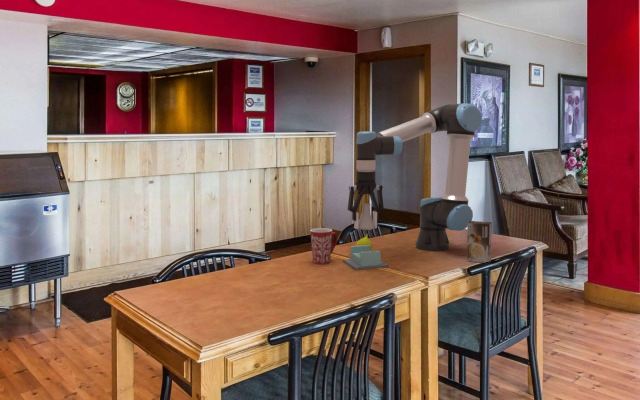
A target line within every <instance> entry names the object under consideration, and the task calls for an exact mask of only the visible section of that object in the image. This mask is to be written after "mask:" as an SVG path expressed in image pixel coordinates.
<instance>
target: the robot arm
mask: <svg viewBox="0 0 640 400" xmlns="http://www.w3.org/2000/svg"><path fill="white" fill-rule="evenodd" d="M482 121H483V117H482V112H481V111H480V109H479V108H478V107H477V106H476V105H475V104H472V103H466V102H464V103H463V102H462V103H453V104H452V103H451V104H444V105H441V106H439V107H435V108H434V109H432V110H430V111H427V112H424V113H423V114H422V116H420V117H418V118H417V117H416V118H414V119H412V120H408V121H406V122H403V123H401V124H398V125H395V126H393V127H390V128H387V129H384V130H381V131H379V132H377V133H376V131H358V132H357V133H356V140H355V141H356V142H355V144H356V172H355V173H356V174H355V175H356V177H355V178H356V180H355V181H356V183H355V185H349V186H348V190H349V193H348V194H349V195H348V200H347V201H348V203H347V211H348V212H351V215H352V216H351V219H352V221H353V223H354V225H353V227H354V229H355V230H359V229H358V222H359V212H358V210H359V206H360V203H361V200H362V198H363V197H364V196H365V195H368V196H369V198H370V201H371V204H372V207H373V211H372V221H373V224H374V227H375V229H377V228H378V220H379V219H380V212H381V211H383V210H384V206H385V205H384V197H383V188H384V186H383V185H381V184H377V183H376V171H375V170H376V166H377V165H376V164H377V163H376V162H377V161H376V157H377V156H395V155H397V156H398V155H400V154H401V153H402V151H403V149H404V148H403V147H404V146H403V144H404V143H405V142H407V141H410V140H412V139H414V138H417V137H420V136H422V135H426V134H434V133H438V132H446V135H447V137H448V138H449V144H448V145H449V147H448V156H447V169H446V179H445V191H444V194H443V195H442V196H441V197H426V198H422V199H421V200H420V203H419V204H420V205H419V232H418V236H417V237H416V241H415V247H416V248H417V249H418V250H423V251H432V252H433V251H438V252H439V251H446V250H449V249H450V240H449V237H448V234H447V229H448V230H451V231H459V232H460V231H463V230H465V229H467V225H468V222H469V221H473V218H474V217H473V216H474V213H473V210H472V208H471V207H470V205H469V198H468V197H467V196H466V193H467V192H466V191H467V181H468V171H469V170H468V169H469V158H470V151H471V150H470V148H471V140H472V139H473V138H474V137H475V134H476V131H478V130H479V128H480V127H481V125H482ZM356 190H357V192H356V198H355V191H356ZM375 190H376V196H375V192H374V191H375ZM376 197H377V198H376ZM354 199H355V200H354Z"/></svg>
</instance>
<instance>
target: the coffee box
mask: <svg viewBox="0 0 640 400" xmlns="http://www.w3.org/2000/svg"><path fill="white" fill-rule="evenodd" d="M492 224H493V222H490V221H480V220H477V221H476V220H472V221H469V222H468V225H467V228H466V229H467V234H466V235H467V236H466V238H467V241H466V243H467V244H466V262H473V263H484V264H487V263H486V262H489V261H490V262H491V261H492V228H493V227H492V226H493V225H492ZM490 262H489V263H490Z"/></svg>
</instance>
